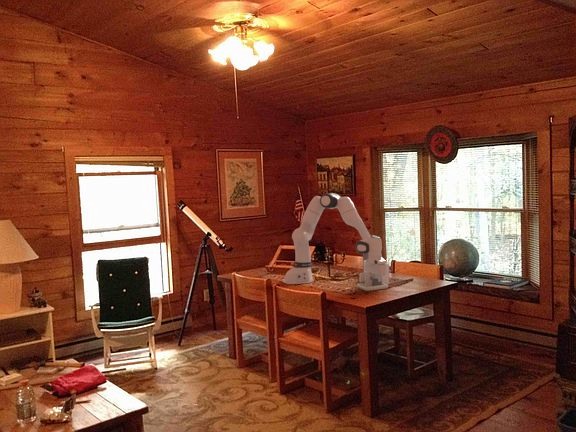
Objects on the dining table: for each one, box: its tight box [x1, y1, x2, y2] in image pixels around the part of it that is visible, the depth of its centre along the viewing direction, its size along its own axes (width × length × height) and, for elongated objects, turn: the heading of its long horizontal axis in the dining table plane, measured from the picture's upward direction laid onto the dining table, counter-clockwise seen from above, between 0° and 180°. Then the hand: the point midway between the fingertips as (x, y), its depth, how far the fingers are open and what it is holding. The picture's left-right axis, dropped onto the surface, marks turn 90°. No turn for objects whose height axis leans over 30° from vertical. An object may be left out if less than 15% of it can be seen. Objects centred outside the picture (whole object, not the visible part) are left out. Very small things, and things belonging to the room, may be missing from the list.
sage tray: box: [356, 282, 389, 292], centre depth 365 cm, size 17×12×2 cm
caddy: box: [364, 277, 382, 286], centre depth 365 cm, size 11×5×6 cm, turn 114°
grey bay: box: [358, 260, 390, 285], centre depth 384 cm, size 15×20×14 cm
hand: (375, 280), depth 366 cm, fingers open, 8 cm apart
